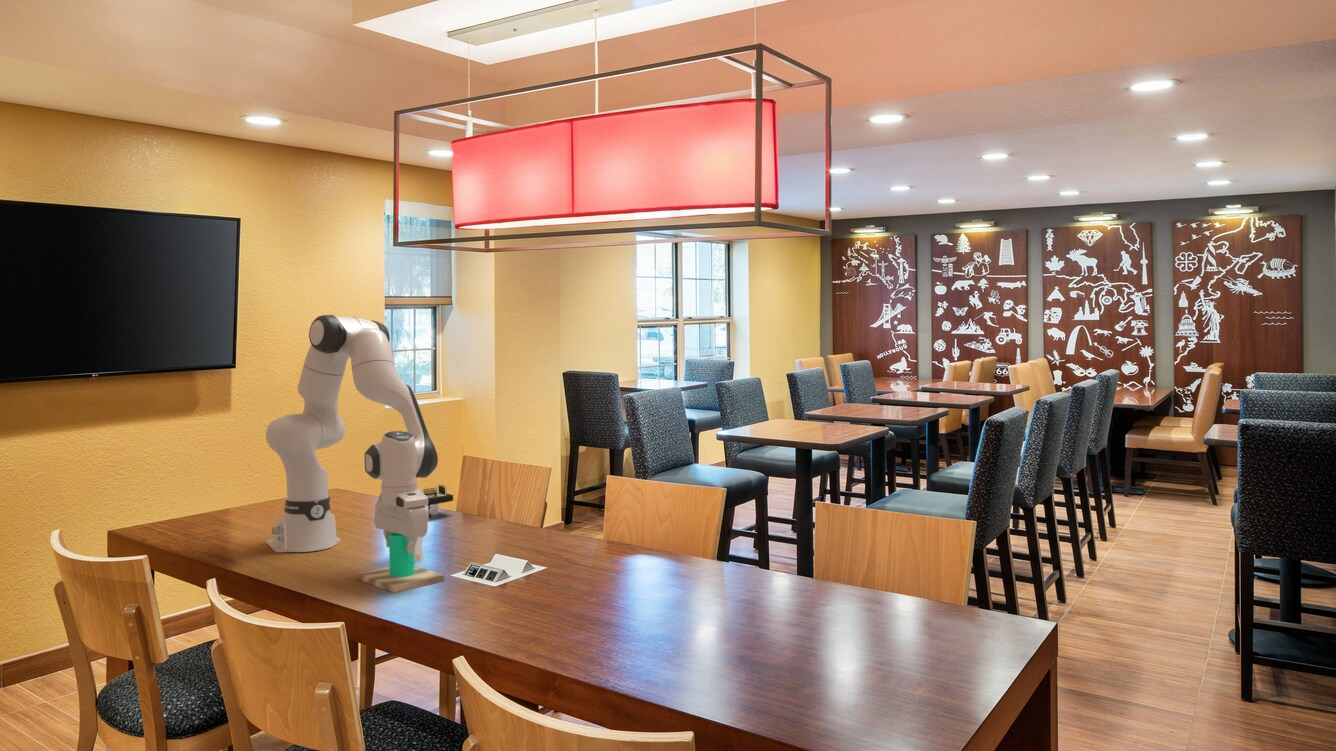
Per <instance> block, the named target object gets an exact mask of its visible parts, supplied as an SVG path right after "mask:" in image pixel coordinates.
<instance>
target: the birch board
mask: <svg viewBox="0 0 1336 751" xmlns="http://www.w3.org/2000/svg"><path fill="white" fill-rule="evenodd" d="M357 579H358V580H361V581H364V582H365V583H368V584H371V585H373V586H375V587H378V588H380V589H383V590H386V591H388V592H390V593H393V594H394V593H397V592H402V591H406V590H411V589H415V588H419V587H420V588H421V587H425V586H429V585H433V584H437V583H441V582H445V575H444V574H442V573H438V572H435V571H432V570H429V569H426V568H423V567H420V566H418V565H414V574H413V575H410V576H406V577H392V576H390V566H387V567H383V568H378V569H374V570H368V571H363V572H357Z"/></svg>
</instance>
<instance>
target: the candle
mask: <svg viewBox="0 0 1336 751" xmlns="http://www.w3.org/2000/svg"><path fill="white" fill-rule="evenodd" d="M407 544H408V540H407V536H404V535H400V534H397V533H392V534H389V567H390V576H392V577H406V576H410V575H413V574H414V566H415V561H414V553H413V554H408V553H406V552H405V551H406V549H405V546H407Z"/></svg>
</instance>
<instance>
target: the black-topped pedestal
mask: <svg viewBox="0 0 1336 751" xmlns="http://www.w3.org/2000/svg"><path fill="white" fill-rule="evenodd" d="M421 490H422V491H421V492H422V493H423V494H424V495H425V496H427V497H428V505H426V506H425V507H426V509H427V513H428V520H434V517H433V516H436V515H439V505H440V504H443V503H448V502H453V501H454V494H450V493H447V485H441V484H440V483H438V484H437V488H435V487H432V488H425V489H424V488H422V489H421ZM434 508H435V509H434Z"/></svg>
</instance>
